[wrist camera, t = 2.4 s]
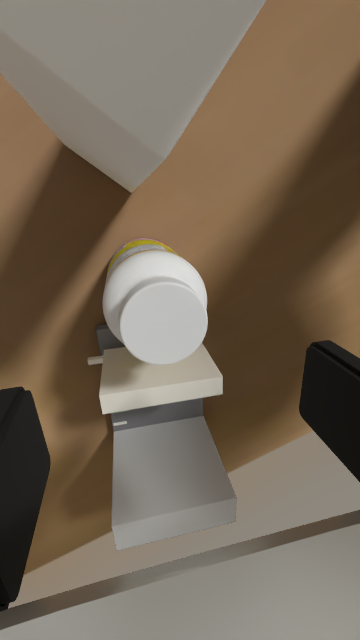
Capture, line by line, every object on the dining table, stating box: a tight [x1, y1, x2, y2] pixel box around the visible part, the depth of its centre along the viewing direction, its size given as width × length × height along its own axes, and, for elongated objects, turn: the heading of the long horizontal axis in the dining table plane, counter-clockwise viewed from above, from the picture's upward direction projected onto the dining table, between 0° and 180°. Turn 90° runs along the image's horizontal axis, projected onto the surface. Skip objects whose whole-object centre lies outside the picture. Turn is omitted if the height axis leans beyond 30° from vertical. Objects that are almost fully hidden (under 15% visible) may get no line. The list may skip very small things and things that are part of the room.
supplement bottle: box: [103, 238, 208, 365], centre depth 21 cm, size 7×7×13 cm
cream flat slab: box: [87, 343, 223, 414], centre depth 24 cm, size 2×10×7 cm, turn 93°
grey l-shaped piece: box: [96, 324, 237, 551], centre depth 26 cm, size 15×10×11 cm, turn 3°
